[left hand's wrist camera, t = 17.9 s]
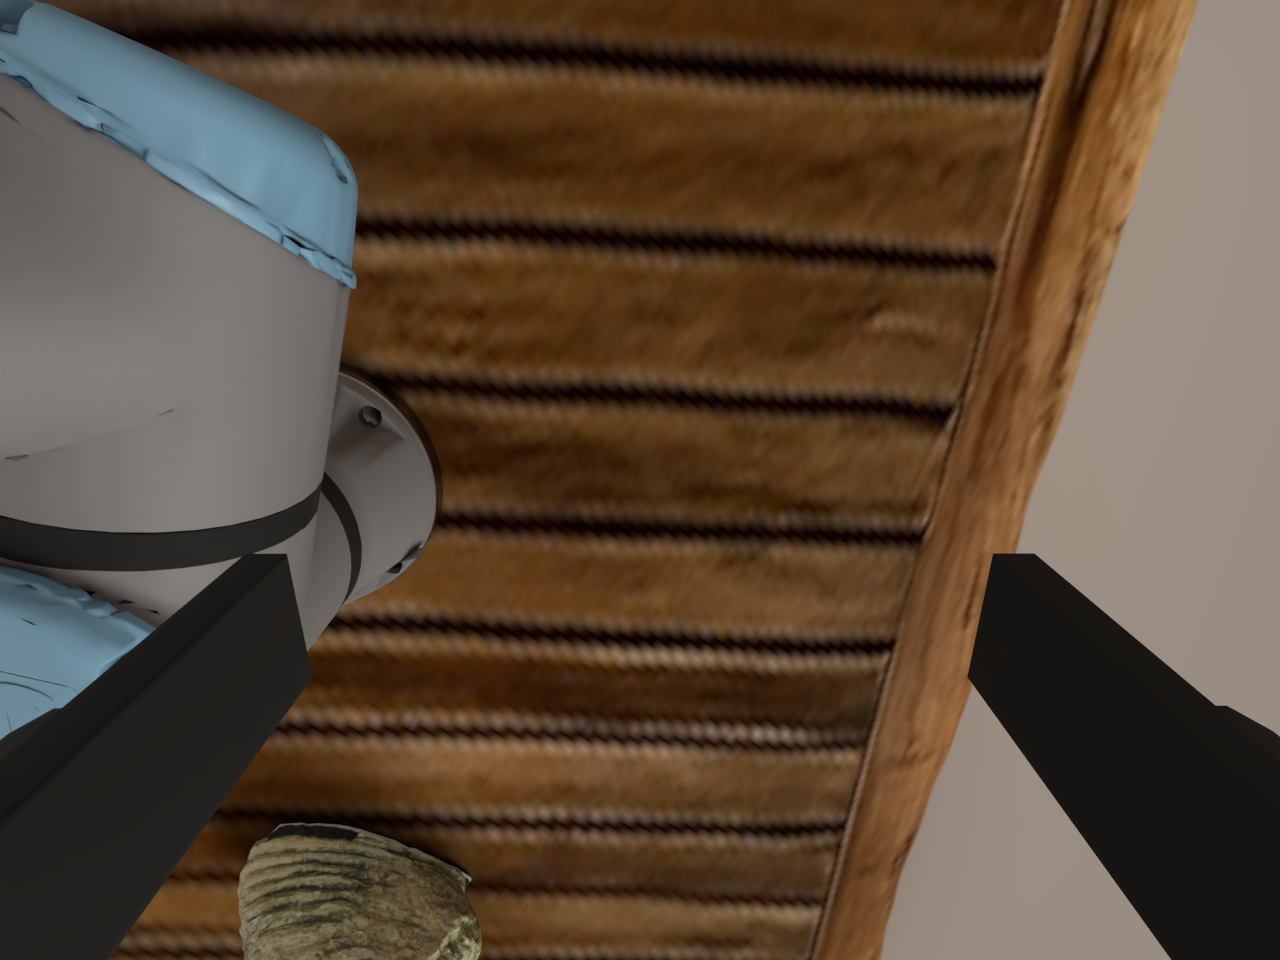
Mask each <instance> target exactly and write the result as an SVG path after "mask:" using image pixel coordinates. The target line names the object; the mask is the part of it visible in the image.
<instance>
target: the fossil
mask: <svg viewBox="0 0 1280 960" xmlns="http://www.w3.org/2000/svg"><path fill="white" fill-rule="evenodd" d="M471 879H472V878H470V877H469V876H468V875H466V874H465V873H464V872H462V871H461V870H459V869H458V868H456V867H453V866H451V865H448V864H447V863H445V862H443V861H441V860H439V859H437V858H435V857H433V856H430V855H428V854H426V853H424V852H422V851H420V850H418V849H416V848H408V847H407V846H405V845H403V844H401V843H399V842H397V841H395V840H393V839H390V838H387V837H384V836H380V835H377V834H374V833H371V832H368V831H365V830H362V829H357V828H353V827H350V826H344V825H338V824H322V823H315V824H306V823H290V824H280V825H279V826H278V827H277V828H276V829H275V830H274V831H273V832H271V833H270V834H268V835H266V836H264V837H262V838H261V839H259V840H258V841H257V842H256V843H255V844H254V845H253V846H252V848H251V849H250V851H249V856H248V860H247V863H246V865H245V867H244V868H243V870H242V872H241V873H240V881H239V887H238V890H237V892H238V895H239V913H240V916H241V925H240V928H239V932H240V934H241V936H242V939H243V951H244V955H245V956H244V960H477V959H478V956H479V954H480V952H481V948H482V940H481V930H480V927H479V925H478V923H477V920H476V913H475V911H474V910H473V908H472V906H471V904H470V903H469V901H468V899H467V898H466V889H467V887H468V885H469V883H470V881H471Z"/></svg>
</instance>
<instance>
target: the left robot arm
mask: <svg viewBox="0 0 1280 960" xmlns="http://www.w3.org/2000/svg"><path fill="white" fill-rule="evenodd" d="M357 201H358V187H357V181H356V178H355V174H354V171H353V169H352V166H351V164H350V162H349V160H348V159H347V157H346V155H345V154H344V153H343V151H342V150H341V149H340V148H339V147H338V145H337V144H336V143H335V142H334V141H333V140H332V139H331V138H329V137H328V136H327V135H326V134H324V133H323V132H322V131H320V130H319V129H317V128H316V127H314V126H312V125H310V124H309V123H307V122H305V121H303V120H301V119H299V118H297V117H295V116H293V115H291V114H289V113H287V112H285V111H283V110H281V109H279V108H277V107H275V106H273V105H271V104H269V103H267V102H265V101H263V100H261V99H259V98H257V97H255V96H253V95H251V94H249V93H246V92H244V91H242V90H240V89H238V88H236V87H234V86H232V85H229V84H227V83H225V82H223V81H221V80H219V79H217V78H215V77H212V76H210V75H208V74H206V73H204V72H202V71H199V70H197V69H195V68H193V67H191V66H188V65H186V64H184V63H182V62H180V61H178V60H175V59H173V58H171V57H169V56H167V55H164V54H162V53H160V52H158V51H155V50H153V49H151V48H149V47H146V46H144V45H142V44H140V43H137V42H135V41H133V40H131V39H128V38H126V37H124V36H122V35H119V34H117V33H115V32H113V31H110V30H108V29H106V28H104V27H101V26H99V25H97V24H95V23H92V22H90V21H88V20H85V19H83V18H80V17H78V16H76V15H73V14H71V13H69V12H66V11H64V10H62V9H59V8H57V7H54V6H52V5H50V4H47V3H40V2H38V1H36V0H0V960H109V958H110V957H111V956H112V954H113V953H114V951H115V950H116V949H117V947H118V946H119V945H120V943H121V942H122V940H123V939H124V938H125V936H126V935H127V933H128V932H129V931H130V929H131V928H132V927H133V925H134V924H135V922H136V921H137V920H138V918H139V917H140V915H141V914H142V913H143V911H144V910H145V908H146V907H147V906H148V904H149V903H150V902H151V900H152V899H153V897H154V896H155V895H156V893H157V892H158V890H159V889H160V888H161V886H162V885H163V884H164V882H165V881H166V879H167V878H168V877H169V875H170V874H171V872H172V871H173V870H174V868H175V867H176V865H177V864H178V863H179V861H180V860H181V859H182V857H183V856H184V854H185V853H186V852H187V850H188V849H189V847H190V846H191V845H192V843H193V842H194V841H195V839H196V838H197V836H198V835H199V834H200V832H201V831H202V829H203V828H204V827H205V825H206V824H207V822H208V821H209V820H210V818H211V817H212V816H213V814H214V813H215V811H216V810H217V809H218V807H219V806H220V804H221V803H222V802H223V800H224V799H225V798H226V796H227V795H228V793H229V792H230V791H231V789H232V788H233V786H234V785H235V784H236V782H237V781H238V779H239V778H240V777H241V775H242V774H243V773H244V771H245V770H246V768H247V767H248V766H249V764H250V763H251V761H252V760H253V759H254V757H255V756H256V755H257V753H258V752H259V750H260V749H261V748H262V746H263V745H264V743H265V742H266V741H267V739H268V738H269V736H270V735H271V734H272V732H273V731H274V730H275V728H276V727H277V725H278V724H279V723H280V721H281V720H282V718H283V717H284V716H285V714H286V713H287V712H288V710H289V709H290V707H291V706H292V705H293V703H294V702H295V700H296V699H297V698H298V696H299V695H300V693H301V692H302V691H303V689H304V688H305V687H306V685H307V684H308V682H309V681H310V680H311V678H312V672H311V667H310V663H309V658H308V653H307V651H308V650H309V649H310V647H311V646H312V645H313V643H314V642H315V641H316V639H317V638H318V637H319V635H320V634H321V633H322V631H323V630H324V629H325V627H326V626H327V625H328V624H329V622H330V621H331V620H332V618H333V617H334V616H335V614H336V613H337V612H338V610H339V609H340V607H342V606H344V605H346V604H348V603H350V602H352V601H354V600H356V599H358V598H360V597H363V596H365V595H367V594H369V593H371V592H373V591H375V590H377V589H379V588H381V587H383V586H385V585H387V584H388V583H390V582H392V581H393V580H395V579H396V578H397V577H399V576H400V575H401V574H402V573H404V572H405V571H406V570H407V569H408V568H409V567H410V566H411V565H412V563H413V562H414V561H415V560H416V559H417V558H419V557H420V555H421V554H422V552H423V551H424V550H425V548H426V547H427V546H426V547H425V545H426V544H427V542H428V541H429V539H430V537H431V536H432V534H433V532H434V530H435V527H436V525H437V522H438V519H439V515H440V512H441V506H442V496H443V485H442V475H441V469H440V465H439V461H438V457H437V454H436V452H435V449H434V446H433V444H432V442H431V440H430V438H429V436H428V434H427V432H426V431H425V429H424V427H423V426H422V424H421V423H420V421H419V420H418V419H417V417H416V416H415V415H414V413H413V412H412V411H411V410H410V409H409V408H408V406H407V405H406V404H405V403H404V402H403V401H402V400H401V399H400V398H399V397H398V396H396V395H395V394H394V393H393V392H392V391H390V390H389V389H388V388H387V387H385V386H384V385H382V384H381V383H379V382H378V381H376V380H375V379H373V378H371V377H370V376H368V375H366V374H364V373H362V372H360V371H358V370H356V369H353V368H351V367H348V366H345V365H342V364H340V359H341V352H342V345H343V338H344V332H345V325H346V318H347V311H348V305H349V298H350V291H351V288H352V289H356V283H357V280H356V275H355V273H354V271H353V270H352V259H353V248H354V236H355V224H356V213H357ZM968 678H969V680H970V681H971V682H972V684H973V685H974V687H975V688H976V689H977V691H978V692H979V693H980V695H981V696H982V698H983V699H984V700H985V702H986V703H987V705H988V706H989V707H990V709H991V710H992V712H993V713H994V714H995V716H996V717H997V718H998V720H999V721H1000V723H1001V724H1002V725H1003V727H1004V728H1005V729H1006V731H1007V732H1008V734H1009V735H1010V736H1011V738H1012V739H1013V741H1014V742H1015V743H1016V745H1017V746H1018V748H1019V749H1020V750H1021V752H1022V753H1023V755H1024V756H1025V757H1026V759H1027V760H1028V761H1029V763H1030V764H1031V766H1032V767H1033V768H1034V770H1035V771H1036V773H1037V774H1038V775H1039V777H1040V778H1041V779H1042V781H1043V782H1044V784H1045V785H1046V786H1047V788H1048V789H1049V790H1050V792H1051V793H1052V795H1053V796H1054V797H1055V799H1056V800H1057V802H1058V803H1059V804H1060V806H1061V807H1062V809H1063V810H1064V811H1065V813H1066V814H1067V816H1068V817H1069V818H1070V820H1071V821H1072V822H1073V824H1074V825H1075V827H1076V828H1077V829H1078V831H1079V832H1080V834H1081V835H1082V836H1083V838H1084V839H1085V841H1086V842H1087V843H1088V845H1089V846H1090V847H1091V849H1092V850H1093V852H1094V853H1095V854H1096V856H1097V857H1098V859H1099V860H1100V861H1101V863H1102V864H1103V865H1104V867H1105V868H1106V869H1107V871H1108V872H1109V874H1110V875H1111V877H1112V878H1113V879H1114V881H1115V882H1116V883H1117V885H1118V886H1119V888H1120V889H1121V890H1122V892H1123V893H1124V894H1125V896H1126V897H1127V899H1128V900H1129V902H1130V903H1131V904H1132V906H1133V907H1134V908H1135V910H1136V911H1137V913H1138V914H1139V915H1140V917H1141V918H1142V920H1143V921H1144V922H1145V924H1146V925H1147V926H1148V928H1149V929H1150V931H1151V932H1152V933H1153V935H1154V936H1155V938H1156V939H1157V940H1158V942H1159V943H1160V945H1161V946H1162V947H1163V949H1164V950H1165V951H1166V953H1167V954H1168V956H1169V957H1170V958H1171V960H1280V737H1279V736H1278V735H1277V734H1276V733H1274V732H1273V731H1271V730H1270V729H1268V728H1266V727H1264V726H1262V725H1261V724H1259V723H1257V722H1255V721H1253V720H1252V719H1250V718H1248V717H1246V716H1244V715H1242V714H1241V713H1239V712H1237V711H1235V710H1233V709H1231V708H1230V707H1228V706H1215V705H1214V704H1213V703H1212V702H1210V701H1209V700H1208V699H1207V698H1206V697H1204V696H1203V695H1202V694H1201V693H1200V692H1199V691H1197V690H1196V689H1195V688H1194V687H1193V686H1191V685H1190V684H1189V683H1188V682H1187V681H1185V680H1184V679H1183V678H1182V677H1181V676H1180V675H1178V674H1177V673H1176V672H1175V671H1173V670H1172V669H1171V668H1170V667H1169V666H1168V665H1166V664H1165V663H1164V662H1163V661H1162V660H1160V659H1159V658H1158V657H1157V656H1156V655H1154V654H1153V653H1152V652H1151V651H1150V650H1149V649H1147V648H1146V647H1145V646H1144V645H1143V644H1141V643H1140V642H1139V641H1138V640H1137V639H1135V638H1134V637H1133V636H1132V635H1131V634H1129V633H1128V632H1127V631H1126V630H1125V629H1124V628H1122V627H1121V626H1120V625H1119V624H1118V623H1116V622H1115V621H1114V620H1113V619H1112V618H1110V617H1109V616H1108V615H1107V614H1106V613H1104V612H1103V611H1102V610H1101V609H1100V608H1099V607H1097V606H1096V605H1095V604H1094V603H1093V602H1091V601H1090V600H1089V599H1088V598H1087V597H1085V596H1084V595H1083V594H1082V593H1081V592H1079V591H1078V590H1077V589H1076V588H1075V587H1074V586H1072V585H1071V584H1070V583H1069V582H1068V581H1066V580H1065V579H1064V578H1063V577H1062V576H1060V575H1059V574H1058V573H1057V572H1056V571H1054V570H1053V569H1052V568H1051V567H1050V566H1049V565H1047V564H1046V563H1045V562H1044V561H1043V560H1041V559H1040V558H1039V557H1038V556H1037V555H1035V554H993V557H992V562H991V566H990V571H989V576H988V581H987V586H986V591H985V595H984V600H983V605H982V610H981V615H980V619H979V624H978V629H977V634H976V639H975V643H974V648H973V653H972V658H971V663H970V667H969V672H968Z"/></svg>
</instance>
